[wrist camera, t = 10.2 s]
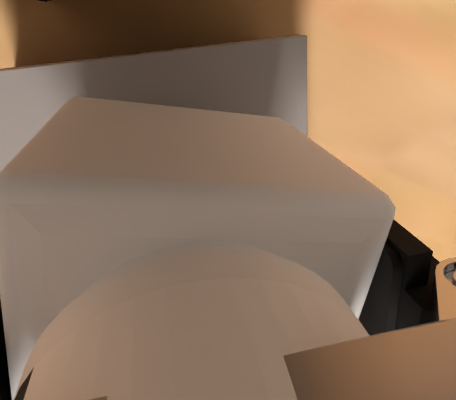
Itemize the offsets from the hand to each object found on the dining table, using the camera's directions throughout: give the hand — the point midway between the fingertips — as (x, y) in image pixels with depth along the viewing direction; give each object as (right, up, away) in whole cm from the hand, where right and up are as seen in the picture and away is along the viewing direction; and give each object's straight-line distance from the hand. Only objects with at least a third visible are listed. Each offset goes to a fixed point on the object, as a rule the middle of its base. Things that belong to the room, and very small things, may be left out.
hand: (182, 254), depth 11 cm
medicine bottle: (-1, +1, +3) cm, 4 cm away
